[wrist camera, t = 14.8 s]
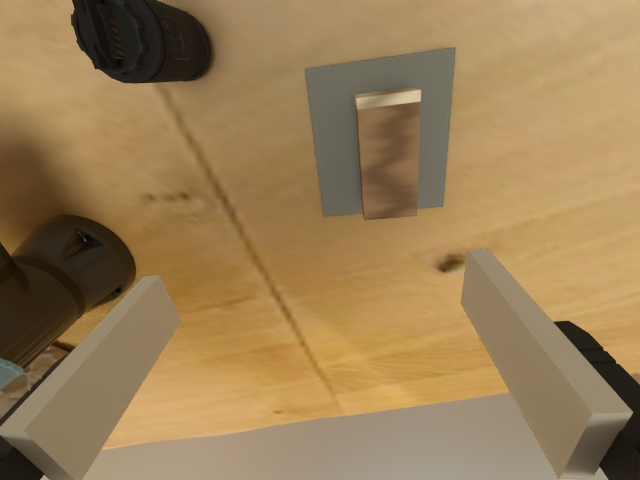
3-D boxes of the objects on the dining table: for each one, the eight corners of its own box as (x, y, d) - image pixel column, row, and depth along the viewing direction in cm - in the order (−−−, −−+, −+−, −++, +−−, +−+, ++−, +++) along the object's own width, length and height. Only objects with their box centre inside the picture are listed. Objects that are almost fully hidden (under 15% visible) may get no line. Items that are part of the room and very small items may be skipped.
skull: (-190, 447, 37) (-105, 509, 47) (56, 407, 46) (84, 467, 56) (-68, 323, 54) (-24, 388, 64) (96, 311, 62) (113, 370, 72)
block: (364, 220, 35) (356, 98, 29) (361, 201, 40) (354, 94, 34) (417, 215, 34) (421, 89, 28) (407, 196, 40) (408, 87, 33)
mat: (324, 214, 42) (323, 216, 42) (305, 69, 34) (305, 69, 33) (441, 204, 40) (443, 206, 40) (453, 47, 32) (455, 47, 31)
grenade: (223, 74, 35) (150, 74, 21) (172, 86, 36) (72, 93, 22) (200, -3, 31) (97, -59, 18) (144, 12, 32) (8, -30, 19)
